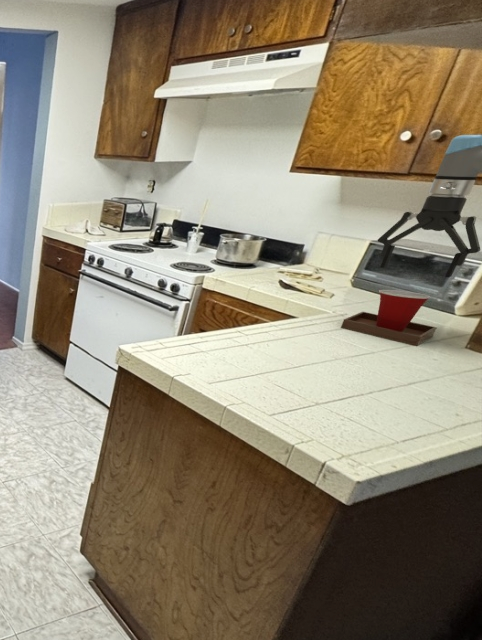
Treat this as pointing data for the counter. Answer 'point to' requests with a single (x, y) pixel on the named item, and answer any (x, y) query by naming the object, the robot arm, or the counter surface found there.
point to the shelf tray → (367, 325)
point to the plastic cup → (398, 308)
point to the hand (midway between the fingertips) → (414, 271)
